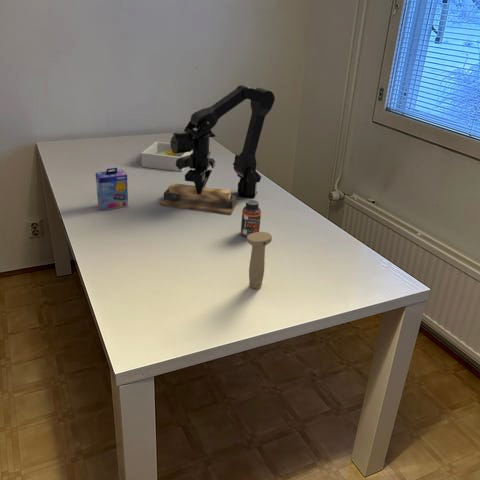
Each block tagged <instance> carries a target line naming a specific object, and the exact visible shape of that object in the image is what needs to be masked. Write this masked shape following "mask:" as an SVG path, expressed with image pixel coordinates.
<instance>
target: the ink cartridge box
mask: <svg viewBox="0 0 480 480" xmlns="http://www.w3.org/2000/svg"><path fill="white" fill-rule="evenodd" d="M95 182H96V183H95V184H96V195H97V206H98V207H99V209H100V211H106V210H113V209H115V210H116V209H121V208H126V207H127V208H128V207H129V197H128V196H129V193H128V192H129V191H128V187H129V186H128V174H127V173H126V172H125V170H124V169H118V167H113V168H106V170H104V171H98V172H95Z"/></svg>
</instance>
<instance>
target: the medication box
mask: <svg viewBox="0 0 480 480" xmlns="http://www.w3.org/2000/svg"><path fill="white" fill-rule="evenodd" d="M155 154H160V155H168V156H176V154H174V153H173V152H172V149H171V150H167V151H163V152H159V153H155Z"/></svg>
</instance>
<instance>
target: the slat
mask: <svg viewBox="0 0 480 480" xmlns="http://www.w3.org/2000/svg"><path fill="white" fill-rule="evenodd" d="M168 188H169V193H175V194H177V195H184V196H192V197H199V198H207V199H215V200H220V199H221V200H230V198H231V195H232V190H231V189H223V188H215V187H207V186H205V187H203V189H202V192H201V194H197V191H196V187H195V185H192V184H191V185H190V184H181V183H175V182H171V183H170V184H169V186H168Z"/></svg>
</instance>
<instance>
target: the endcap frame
mask: <svg viewBox="0 0 480 480" xmlns="http://www.w3.org/2000/svg"><path fill="white" fill-rule="evenodd" d="M238 203H239V199H238V198H237V195H234V194H231V198H230V200H221V199H220V200H215V199H207V198H199V197H192V196H184V195H177V194H175V193H169V187H167V189H166V190H165V191H164V192H163V199H161V201H160V202H159V205H160V206H164V207H170V208H171V207H172V208H178V209H180V208H181V209H186V210H187V209H188V210H194V211H201V212H202V211H203V212H209V213H215V214H222V215H223V214H225V215H232V214H233V213H234V210H235V208H236V206H237V205H238Z"/></svg>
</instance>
